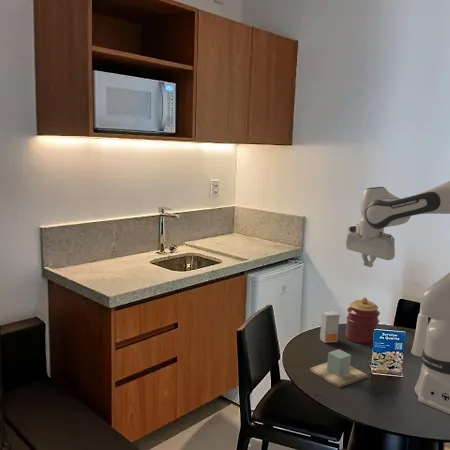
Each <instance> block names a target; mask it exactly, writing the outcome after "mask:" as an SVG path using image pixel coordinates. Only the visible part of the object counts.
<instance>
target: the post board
mask: <svg viewBox="0 0 450 450" xmlns="http://www.w3.org/2000/svg"><path fill="white" fill-rule="evenodd" d="M327 362H328V361H326V362H324V363H321V364H318V365H315V366H312V367H309V371H310V372H312V373H313V374H315V375H317V376H318V377H320V378H321V379H323V380H325V381H326V382H328V383H330V384H332V385H334V386H335V387H337V388H338V389H339V388H342V387H344V386H345V387H346V386H347V385H350V384H353V383H355V382H358V381H361V380H363V379H366V378H368V374H367V373H365V372H363V371H362V370H359V369H358V368H355V367H354V366H352V365H350V373H347V374H345V375H342V376H339V377H338V376H337V375H335V374H333V373H331V372H330V371H328V370H327Z"/></svg>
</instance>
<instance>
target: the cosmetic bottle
mask: <svg viewBox="0 0 450 450" xmlns="http://www.w3.org/2000/svg"><path fill="white" fill-rule="evenodd" d="M416 320H417V321H416V328H415V332H414V339H413V343H412V347H411V350H410V353H411V355H413V356H415V357H419V358H422V353H423V350H424V347H425V338H426V330H427V326H428V324H429V317H428V316H427V315H426V314H425V313H424V312H423V310H422V308H421V304H420V308H419V313H418V315H417V319H416Z"/></svg>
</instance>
